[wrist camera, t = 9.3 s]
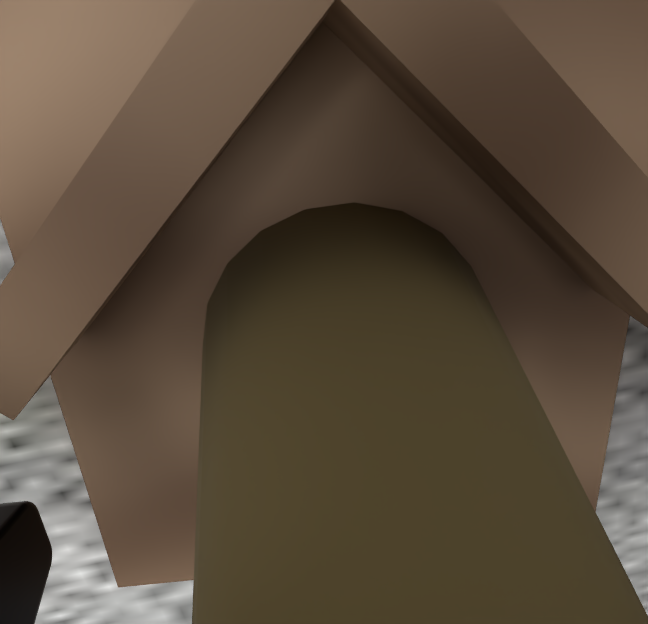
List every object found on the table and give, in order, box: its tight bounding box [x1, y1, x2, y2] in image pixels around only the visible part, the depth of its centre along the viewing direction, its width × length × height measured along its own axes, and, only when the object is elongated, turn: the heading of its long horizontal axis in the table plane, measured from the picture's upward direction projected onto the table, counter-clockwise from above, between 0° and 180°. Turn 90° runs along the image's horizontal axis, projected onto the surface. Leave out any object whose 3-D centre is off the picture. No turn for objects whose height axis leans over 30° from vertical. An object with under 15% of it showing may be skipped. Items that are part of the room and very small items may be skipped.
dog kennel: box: [0, 0, 648, 587], centre depth 10 cm, size 15×12×4 cm
